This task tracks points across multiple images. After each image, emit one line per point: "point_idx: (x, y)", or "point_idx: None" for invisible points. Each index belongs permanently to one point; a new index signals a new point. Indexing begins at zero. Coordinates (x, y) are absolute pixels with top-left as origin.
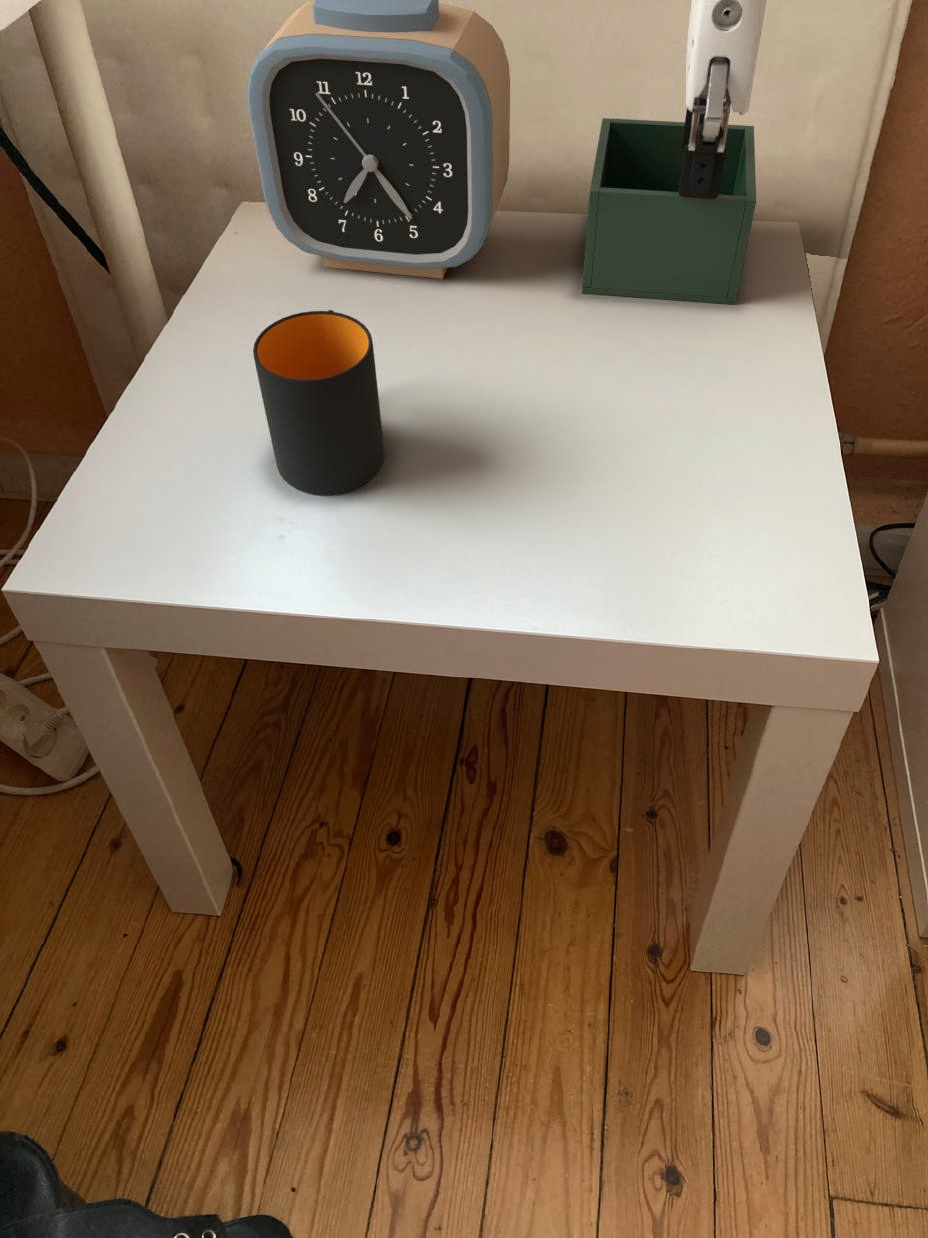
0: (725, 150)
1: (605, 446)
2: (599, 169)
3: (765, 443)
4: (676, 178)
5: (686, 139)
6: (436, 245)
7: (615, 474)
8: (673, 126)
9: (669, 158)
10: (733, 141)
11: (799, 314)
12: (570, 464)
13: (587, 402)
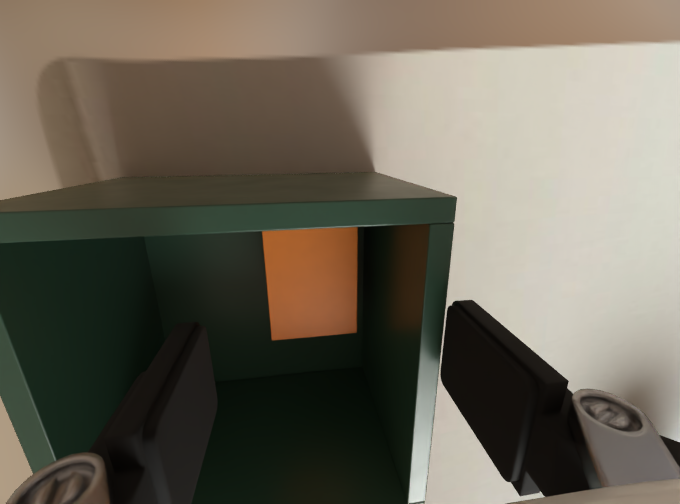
0: (567, 382)
1: (635, 299)
2: None
3: (661, 129)
4: (118, 329)
5: (212, 421)
6: None
7: (674, 284)
8: (51, 436)
9: (100, 373)
10: (21, 260)
11: (391, 63)
12: (653, 324)
13: (570, 326)
